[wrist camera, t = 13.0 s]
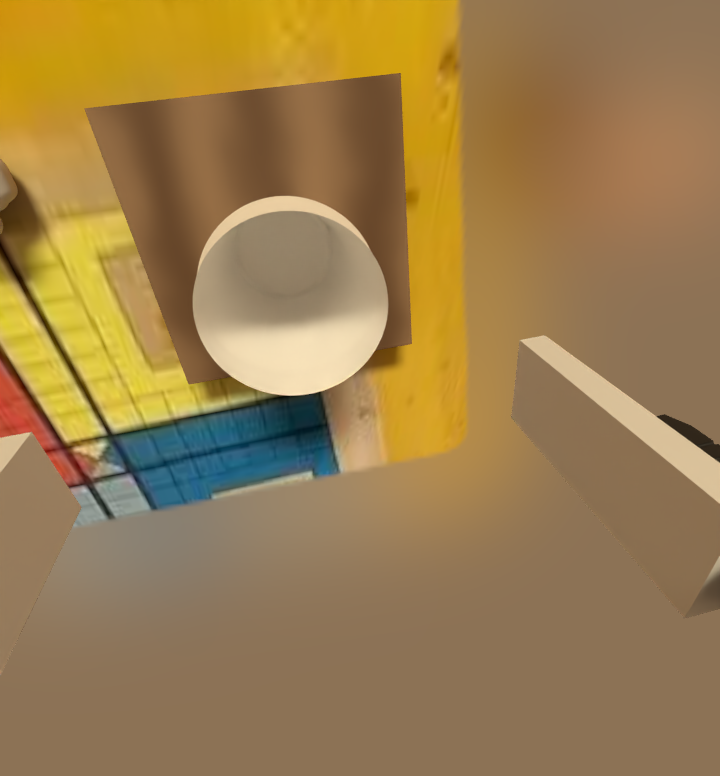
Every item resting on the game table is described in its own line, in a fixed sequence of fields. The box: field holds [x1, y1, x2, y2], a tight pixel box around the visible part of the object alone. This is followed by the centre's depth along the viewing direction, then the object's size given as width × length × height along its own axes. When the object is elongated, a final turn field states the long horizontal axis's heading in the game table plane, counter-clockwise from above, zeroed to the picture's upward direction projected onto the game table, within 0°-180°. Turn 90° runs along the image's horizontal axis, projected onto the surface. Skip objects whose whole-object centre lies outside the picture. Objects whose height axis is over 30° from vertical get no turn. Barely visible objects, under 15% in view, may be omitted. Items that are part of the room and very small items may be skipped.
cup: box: [193, 196, 388, 396], centre depth 24 cm, size 9×9×12 cm
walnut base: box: [85, 73, 412, 384], centre depth 31 cm, size 18×18×4 cm
